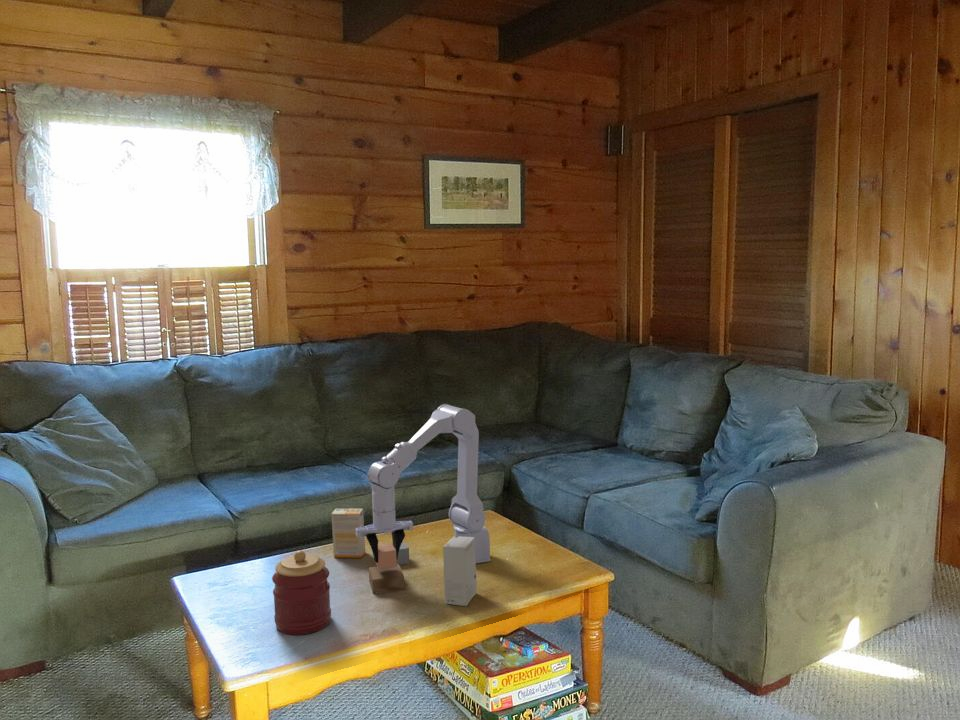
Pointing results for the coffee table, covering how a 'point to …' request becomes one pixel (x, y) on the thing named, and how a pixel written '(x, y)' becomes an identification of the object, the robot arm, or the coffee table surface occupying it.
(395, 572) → the walnut block
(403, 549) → the slate grey cube
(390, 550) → the terracotta cube
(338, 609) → the coffee table surface
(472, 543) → the skincare box
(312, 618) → the canister
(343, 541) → the supplement box
